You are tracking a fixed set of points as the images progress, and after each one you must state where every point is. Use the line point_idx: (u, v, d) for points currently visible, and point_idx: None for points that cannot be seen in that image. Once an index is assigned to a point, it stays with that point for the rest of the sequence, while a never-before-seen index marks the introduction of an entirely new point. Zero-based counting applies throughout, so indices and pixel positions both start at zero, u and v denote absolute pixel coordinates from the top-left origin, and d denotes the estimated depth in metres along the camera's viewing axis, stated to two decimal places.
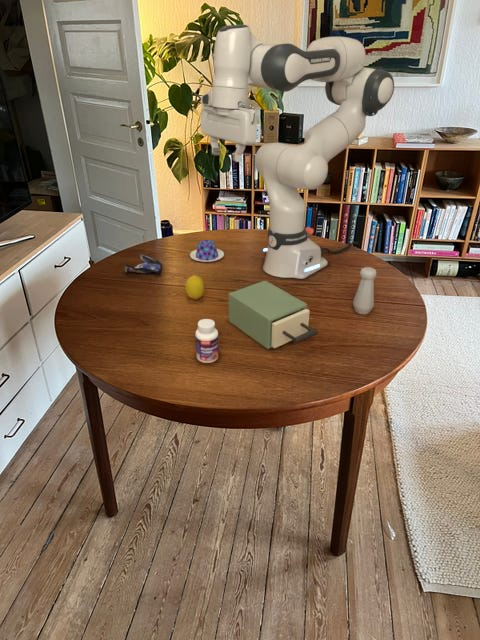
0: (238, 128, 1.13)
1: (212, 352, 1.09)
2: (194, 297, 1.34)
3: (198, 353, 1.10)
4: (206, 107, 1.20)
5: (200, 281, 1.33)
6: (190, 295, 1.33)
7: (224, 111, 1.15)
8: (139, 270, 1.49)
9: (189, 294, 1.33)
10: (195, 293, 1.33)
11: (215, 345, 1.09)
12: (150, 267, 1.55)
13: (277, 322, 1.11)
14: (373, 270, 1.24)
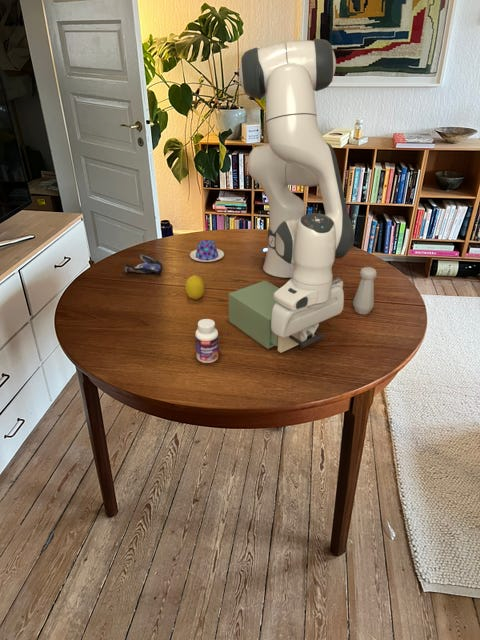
0: (335, 304, 1.09)
1: (212, 352, 1.09)
2: (194, 297, 1.34)
3: (198, 353, 1.10)
4: (299, 309, 1.00)
5: (200, 281, 1.33)
6: (190, 295, 1.33)
7: None
8: (139, 270, 1.49)
9: (189, 294, 1.33)
10: (195, 293, 1.33)
11: (215, 345, 1.09)
12: (150, 267, 1.55)
13: None
14: (373, 270, 1.24)
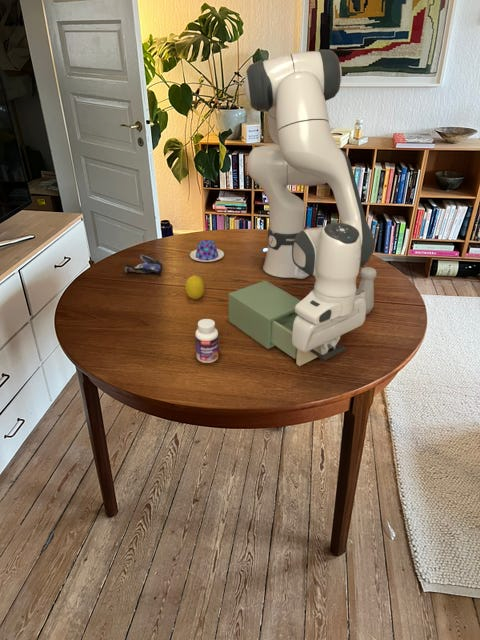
0: (358, 316, 1.05)
1: (212, 352, 1.09)
2: (194, 297, 1.34)
3: (198, 353, 1.10)
4: (322, 323, 0.96)
5: (200, 281, 1.33)
6: (190, 295, 1.33)
7: None
8: (139, 270, 1.49)
9: (189, 294, 1.33)
10: (195, 293, 1.33)
11: (215, 345, 1.09)
12: (150, 267, 1.55)
13: None
14: (373, 270, 1.24)
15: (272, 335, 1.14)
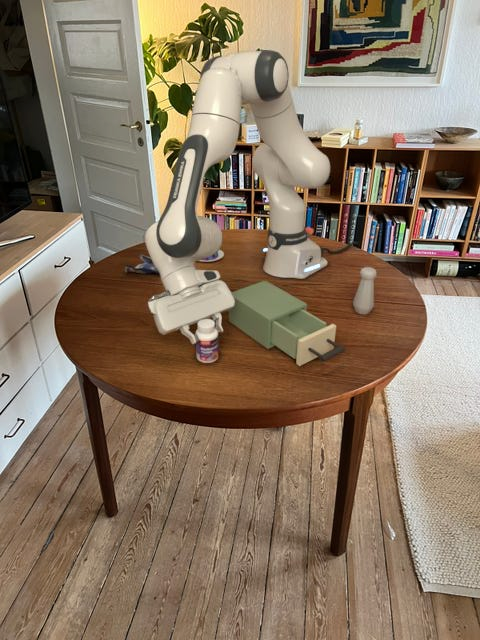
0: None
1: (212, 352, 1.09)
2: None
3: (198, 353, 1.10)
4: None
5: None
6: None
7: None
8: (139, 270, 1.49)
9: None
10: None
11: (215, 345, 1.09)
12: (150, 267, 1.55)
13: (303, 339, 1.05)
14: (373, 270, 1.24)
15: (272, 335, 1.14)
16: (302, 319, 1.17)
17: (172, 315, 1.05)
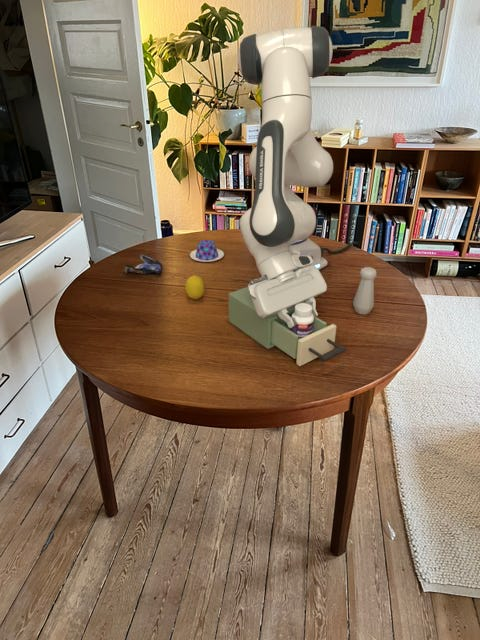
0: None
1: None
2: (194, 297, 1.34)
3: None
4: None
5: (200, 281, 1.33)
6: (190, 295, 1.33)
7: None
8: (139, 270, 1.49)
9: (189, 294, 1.33)
10: (195, 293, 1.33)
11: (311, 329, 1.10)
12: (150, 267, 1.55)
13: (303, 339, 1.05)
14: (373, 270, 1.24)
15: (272, 335, 1.14)
16: None
17: (272, 298, 1.06)
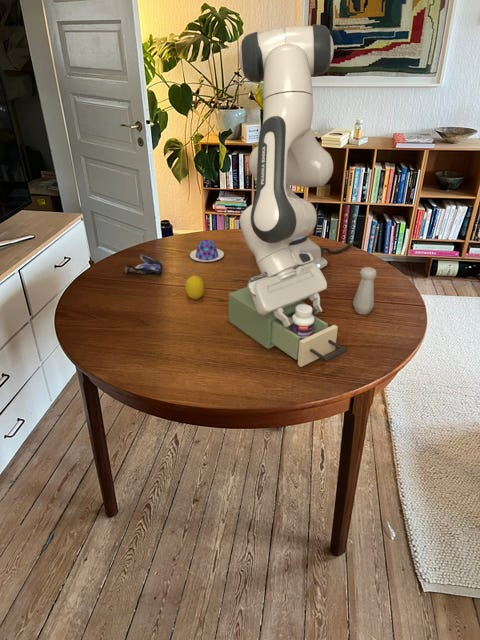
0: None
1: (308, 336, 1.10)
2: (194, 297, 1.34)
3: None
4: None
5: (200, 281, 1.33)
6: (190, 295, 1.33)
7: None
8: (139, 270, 1.49)
9: (189, 294, 1.33)
10: (195, 293, 1.33)
11: (312, 330, 1.10)
12: (150, 267, 1.54)
13: (305, 340, 1.05)
14: (373, 270, 1.24)
15: (273, 336, 1.14)
16: None
17: (272, 295, 1.06)
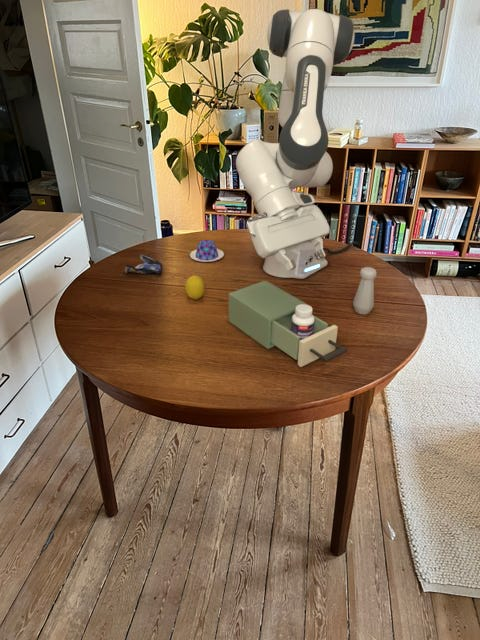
0: None
1: (308, 336, 1.10)
2: (194, 297, 1.34)
3: None
4: None
5: (200, 281, 1.33)
6: (190, 295, 1.33)
7: None
8: (139, 270, 1.49)
9: (189, 294, 1.33)
10: (195, 293, 1.33)
11: (312, 330, 1.10)
12: (150, 267, 1.54)
13: (305, 340, 1.05)
14: (373, 270, 1.24)
15: (273, 336, 1.14)
16: None
17: (274, 236, 0.98)
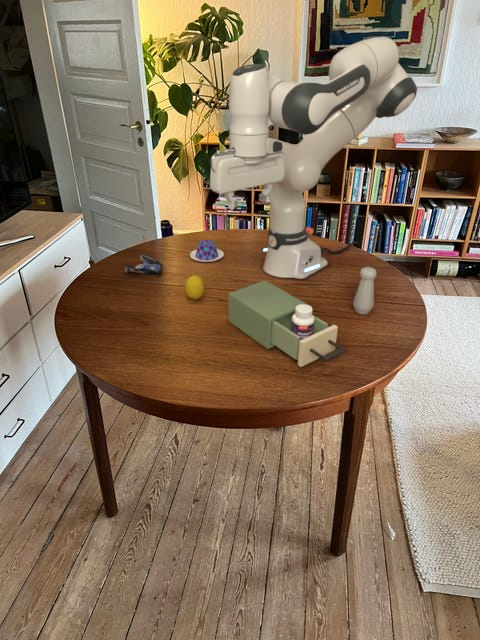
0: None
1: (308, 336, 1.10)
2: (194, 297, 1.34)
3: None
4: None
5: (200, 281, 1.33)
6: (190, 295, 1.33)
7: None
8: (139, 270, 1.49)
9: (189, 294, 1.33)
10: (195, 293, 1.33)
11: (312, 330, 1.10)
12: (150, 267, 1.54)
13: (305, 340, 1.05)
14: (373, 270, 1.24)
15: (273, 336, 1.14)
16: None
17: (230, 179, 1.05)
